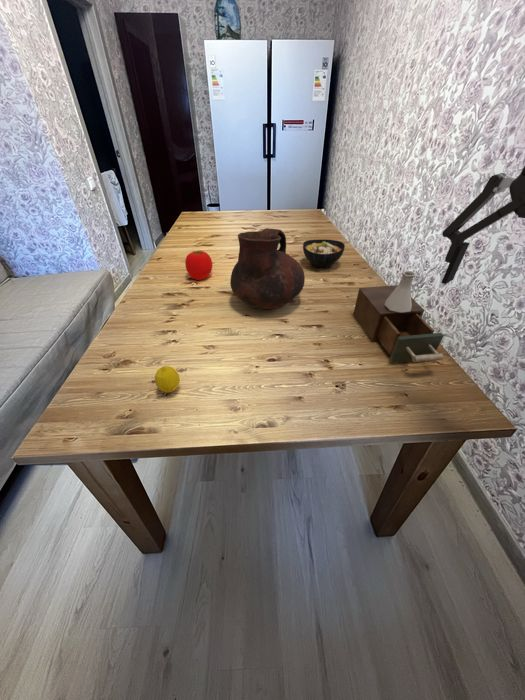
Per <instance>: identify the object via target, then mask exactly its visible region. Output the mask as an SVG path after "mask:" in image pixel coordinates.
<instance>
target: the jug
mask: <svg viewBox="0 0 525 700" xmlns="http://www.w3.org/2000/svg"><path fill="white" fill-rule="evenodd" d="M237 239H238V245H239V251H238V259H237V262H236V263H235V265H234V266H233V269H232V271H231V274H230V282H229V284H230V289H231V291H232V293H233V295H234V296H235V297H236V298H237V299H238V300H239V301H241V302H242V303H243V304H245V305H247V306H249V307H252V308H255V309H259V310H260V309H261V310H274V309H278V308H281V307H284V306H285V305H287V304H289V303H291V302H292V301H293V300H295V298H297V296H299V295H300V293H301V292H302V290H303V288H304V286H305V281H306V278H305V272H304V270H303V267H302V266H301V263H299V262H298V261H297V260H296V259H295V258H294V257H293V256H291V255H290V254H288V253H287V237H286V234H285V232H283V230H282V229H278V228H267V227H266V228H264V229H263V230H257V231H245V232H240V233H237ZM278 247H279V248H278Z"/></svg>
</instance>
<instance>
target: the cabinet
mask: <svg viewBox="0 0 525 700" xmlns="http://www.w3.org/2000/svg"><path fill="white" fill-rule="evenodd" d="M397 286H398V284H395V285H394V284H392V285H381V286H380V285H379V286H370V287H369V286H367V287H359V288H358V292H357V296H356V299H355V300H356V301H355V304H354V308H353V313H352V315H353V316H354V318H355V320H356V321H357V322H358V324H359V326H360V327H361V328H362V330H363V331H364V332H365V334H366V336H367V338H368V339H369V340H370V341H371V342H372V343H375V342H380V341H379V340H378V338H377V337H376V336H377V332H378V329H379V326H380V323H381V319H382V316H391V315H403V314H414V313H418V314H419V315H420V316H421V317H422V318H423V316H424V312H425V309H424V308H423V307H422V306H421V305H420V304H419V303H418V302H417V301H416V300H415V299H414V298H413V297H411V303H412V307H411V312H402V313H400V312H396V311H391V310H389V309H388V308H387V307H386V306H385V302H386V300H387V298H388V297H389V296H390V295H391V293H392V292H393V291H394V290H395V288H396V287H397Z"/></svg>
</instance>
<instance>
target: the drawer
mask: <svg viewBox="0 0 525 700" xmlns="http://www.w3.org/2000/svg"><path fill="white" fill-rule="evenodd" d="M444 336H445V335H444V334H443V333H442V332H435V329H434V328H433V327H432V326H431V325H430V324H429V323H428V322H427V321H426V320H425V319H424V318H423V316H422V317H421V316H420V315H419V314H418V313H414V314H403V315H391V316H382V319H381V323H380V326H379V329H378V332H377V336H376V337H377V338H378V340H379V341H378V342H380V344H381V346H382V347H383V349H384V350H385V351H386V352H387V354H388V355H389V356H390V357H389V359H388V360H389V362H390V364H396V363H404V362H413V363H423V362H429V361H431V362H432V361H441V360H443V359H444V355H443V353H442V352H439V351H437V350H438V348H439V346H440V345H441V342H442V340H443V339H444Z"/></svg>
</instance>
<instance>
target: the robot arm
mask: <svg viewBox="0 0 525 700" xmlns="http://www.w3.org/2000/svg"><path fill="white" fill-rule="evenodd" d="M507 188H508V190H509V196H510V200H511V201H510V202H507V203H506V204H505V205H503V206H501V207H499V208H498V209H497V210H495V211H494V212H492V213H491V214H489V215H487V216H486V217H484V218H483V219H481V220H479V221H478V222H476V223H474V224H473V225H471V226H469V227H468V228H466V229H464V230H463V231H460V230H461V229H462V228H463V227H464V226H465V225H466V224H467V223H468V222H469V221H470V220H471V219H472V218H473V217H475V216H476V215H477V213H479V211H480V210H481V209H482V208H484V207H485V205H487V203H489V202H490V201H491V200H492V199H493V198H494V197H495V196H496V195H497V194H500V193H502V192H504V191H505V189H507ZM512 213H514V214H515V215H516V216H517V218H520V219H525V165H523V167H522V170H521V172H520V173H519V175H518V176H517V177H511V176H507V174H506V173H504V172H500V173H496V174H493V175H491V176H490V177H489V179H488V180H487V181H486V184H485V186H484V188H483V189H482V191H481V192H480V193H479V194H478V195H477V196H476V197H475V198H474V200H473V201H471V202H470V203H469V205H468V206H466V207H465V208H464V209H463V211H462V212H461V213H459V215H457V217H456V218H455V219H453V221H452V222H451V223H449V224H448V226H447V227H446V228H445V229H443V230H442V237H444V238H447V239H448V240H450V245H449V248H448V250H447V253H446V255H445V258H444V262H445V263H448V266H447V268H446V270H445V273H444V275H443V278H442V280H441V281H440V283H441V284H444V285H447V284H448V283H450V282H452V281H453V280H454V278H455V277H456V274H457V272H458V270H459V268H460V266H461V263H462V261H463V259H464V257H465V254H466V252H467V250H468V248H469V245H470V244H471V243H470V242H467V241H466V240H468V239H470V238H471V237H473V236H474V235H476V234H478V233H479V232H482V231H483V230H485V229H487V228H488V227H490V226H491V225H494V223H497V222H499V221H500V220H502V219H504V218H505V217H507V216H509V215H511V214H512Z"/></svg>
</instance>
